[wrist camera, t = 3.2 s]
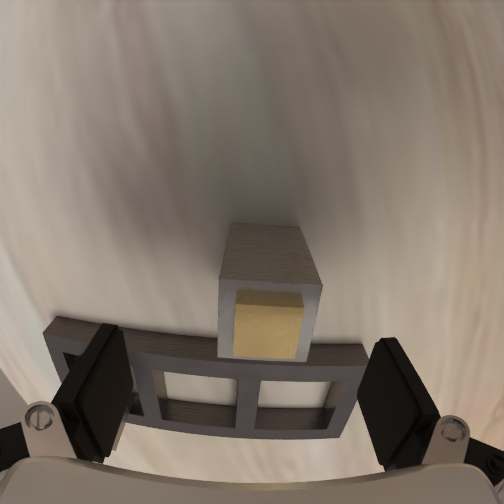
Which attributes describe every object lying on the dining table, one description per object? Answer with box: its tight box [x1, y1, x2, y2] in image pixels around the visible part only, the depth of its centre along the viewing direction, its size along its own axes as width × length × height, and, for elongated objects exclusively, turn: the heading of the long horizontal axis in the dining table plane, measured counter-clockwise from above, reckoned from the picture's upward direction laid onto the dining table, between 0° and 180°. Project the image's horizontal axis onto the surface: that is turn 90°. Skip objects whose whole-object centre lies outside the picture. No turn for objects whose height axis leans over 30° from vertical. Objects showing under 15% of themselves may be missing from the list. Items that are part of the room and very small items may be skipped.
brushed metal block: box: [218, 223, 323, 362], centre depth 16 cm, size 4×4×8 cm
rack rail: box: [43, 316, 369, 440], centre depth 22 cm, size 24×9×2 cm, turn 86°
